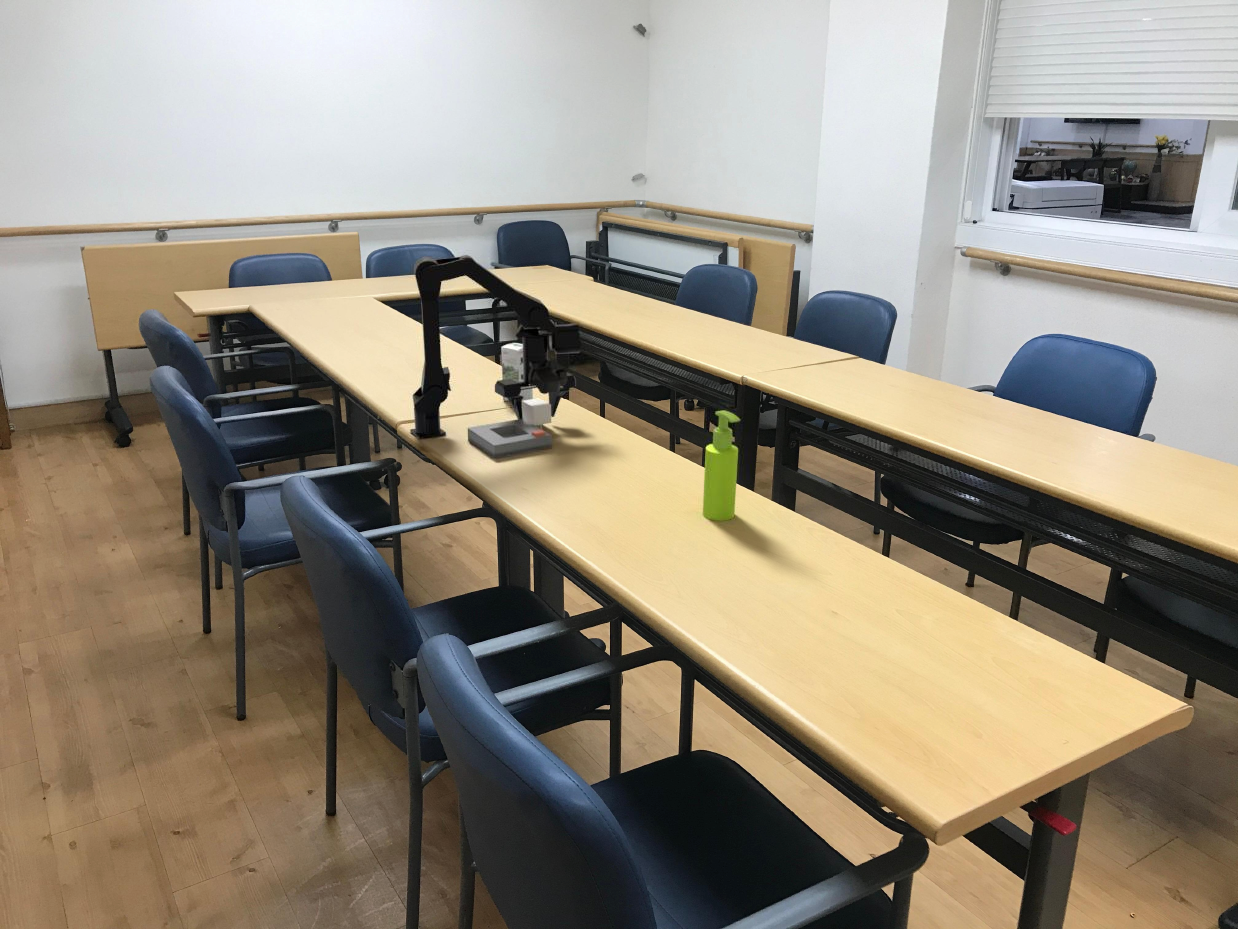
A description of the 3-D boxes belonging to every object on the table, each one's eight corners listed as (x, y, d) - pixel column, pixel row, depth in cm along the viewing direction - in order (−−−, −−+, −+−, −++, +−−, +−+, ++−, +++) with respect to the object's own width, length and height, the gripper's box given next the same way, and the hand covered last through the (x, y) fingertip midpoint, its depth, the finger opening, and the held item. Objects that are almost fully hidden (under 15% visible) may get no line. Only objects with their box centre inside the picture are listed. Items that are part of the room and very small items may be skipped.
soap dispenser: (716, 525, 173) (722, 420, 166) (696, 511, 179) (701, 409, 172) (743, 519, 176) (750, 415, 169) (722, 506, 181) (728, 405, 174)
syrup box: (533, 399, 247) (532, 344, 242) (519, 405, 242) (518, 349, 237) (516, 396, 249) (515, 341, 244) (502, 401, 245) (500, 346, 240)
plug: (522, 425, 226) (521, 400, 224) (539, 422, 229) (539, 398, 227) (533, 431, 222) (533, 407, 220) (551, 428, 224) (551, 404, 222)
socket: (468, 440, 215) (467, 424, 214) (523, 430, 222) (523, 415, 221) (494, 458, 204) (494, 442, 203) (552, 447, 211) (551, 432, 210)
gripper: (514, 367, 208) (516, 434, 213) (588, 357, 217) (587, 422, 223) (492, 356, 217) (494, 421, 222) (564, 347, 226) (564, 410, 232)
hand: (536, 419), depth 225 cm, fingers open, 8 cm apart
